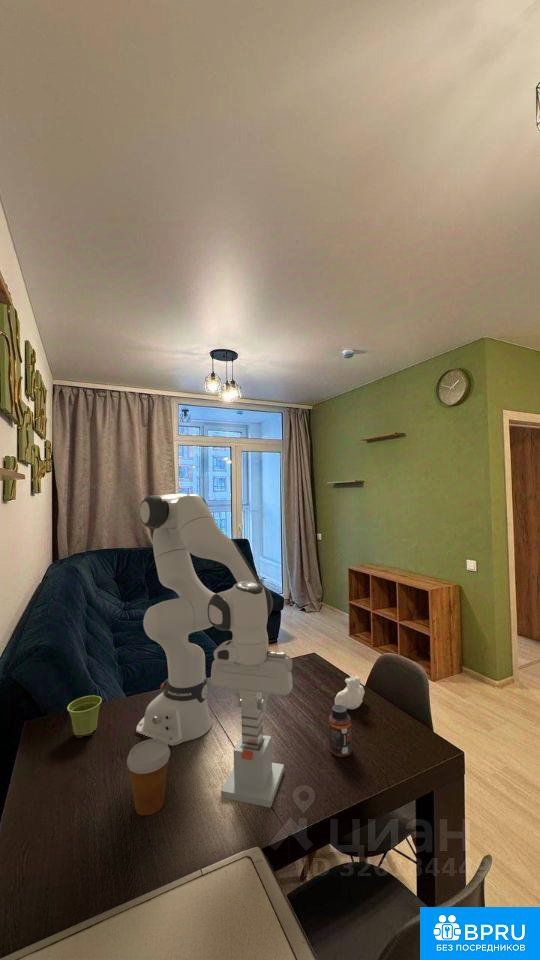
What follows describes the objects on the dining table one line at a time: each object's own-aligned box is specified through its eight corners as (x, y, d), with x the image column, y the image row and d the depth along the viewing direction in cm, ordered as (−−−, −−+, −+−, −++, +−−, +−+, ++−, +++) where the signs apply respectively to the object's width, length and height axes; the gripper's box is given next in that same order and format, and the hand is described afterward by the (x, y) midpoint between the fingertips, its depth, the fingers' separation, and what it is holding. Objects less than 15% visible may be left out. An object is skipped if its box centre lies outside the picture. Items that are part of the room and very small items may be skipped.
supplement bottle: (352, 759, 101) (350, 715, 102) (329, 757, 102) (327, 713, 103) (352, 745, 107) (350, 703, 107) (330, 743, 108) (328, 701, 109)
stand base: (221, 797, 90) (220, 752, 90) (239, 762, 101) (238, 723, 102) (270, 807, 86) (269, 761, 87) (284, 770, 98) (282, 730, 98)
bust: (338, 719, 123) (352, 700, 118) (325, 696, 128) (338, 677, 123) (365, 707, 129) (380, 688, 124) (351, 686, 135) (365, 667, 129)
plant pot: (60, 738, 114) (59, 708, 114) (86, 721, 122) (86, 693, 123) (83, 745, 110) (83, 714, 110) (109, 727, 119) (108, 698, 119)
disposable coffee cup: (147, 829, 82) (146, 770, 82) (118, 810, 87) (117, 755, 87) (179, 798, 90) (178, 745, 90) (151, 783, 95) (150, 733, 95)
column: (242, 758, 93) (240, 690, 93) (248, 747, 96) (246, 682, 97) (258, 761, 91) (256, 692, 92) (263, 750, 95) (261, 684, 96)
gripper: (294, 648, 95) (296, 706, 95) (218, 641, 101) (219, 696, 100) (288, 659, 89) (290, 720, 89) (207, 651, 95) (208, 709, 94)
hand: (251, 707), depth 94 cm, fingers open, 4 cm apart
